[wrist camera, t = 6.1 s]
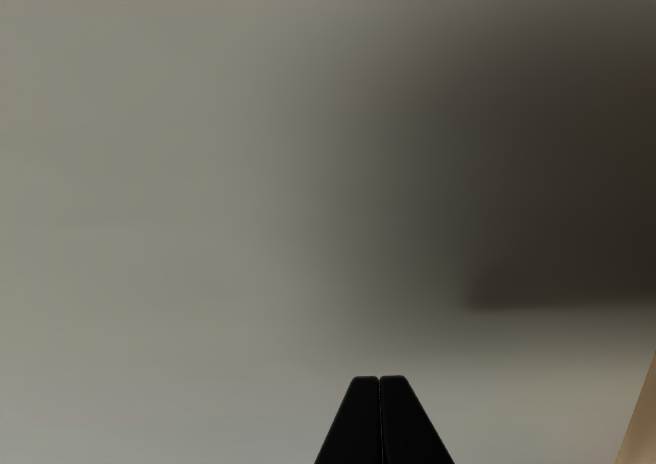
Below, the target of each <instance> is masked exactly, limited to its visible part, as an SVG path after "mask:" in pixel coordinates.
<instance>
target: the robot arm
mask: <svg viewBox="0 0 656 464" xmlns="http://www.w3.org/2000/svg"><path fill="white" fill-rule="evenodd" d="M379 387H380V393H379ZM380 408H381V413H380ZM381 428H382V433H381ZM382 449H383V454H382ZM314 464H455V463H454V461H453V460H452V458H451V456H450V454H449V453H448V451H447V449H446V447H445V446H444V444H443V442H442V440H441V438H440V437H439V435H438V433H437V431H436V430H435V428H434V426H433V424H432V423H431V421H430V419H429V417H428V416H427V414H426V412H425V410H424V409H423V407H422V405H421V403H420V402H419V400H418V398H417V396H416V395H415V393H414V391H413V389H412V388H411V386H410V384H409V382H408V381H407V379H406V378H405V377H404V376H401V375H395V376H382V377H381V378H380V379H378V378H377V377H375V376H357V377H355V378H353V380H352V381H351V383H350V385H349V387H348V390H347V392H346V394H345V396H344V398H343V401H342V403H341V405H340V407H339V410H338V412H337V414H336V416H335V418H334V421H333V423H332V425H331V427H330V429H329V432H328V434H327V436H326V438H325V440H324V443H323V445H322V447H321V449H320V452H319V454H318V456H317V458H316V460H315V463H314Z"/></svg>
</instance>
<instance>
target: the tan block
mask: <svg viewBox="0 0 656 464" xmlns="http://www.w3.org/2000/svg"><path fill="white" fill-rule="evenodd" d="M615 464H656V351H655V354H654V357H653V360H652V362H651V365H650V368H649V371H648V373H647V376H646V379H645V382H644V384H643V387H642V390H641V393H640V396H639V398H638V401H637V404H636V407H635V409H634V412H633V415H632V418H631V420H630V423H629V426H628V429H627V431H626V434H625V437H624V440H623V443H622V445H621V448H620V451H619V454H618V456H617V459H616V462H615Z"/></svg>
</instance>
